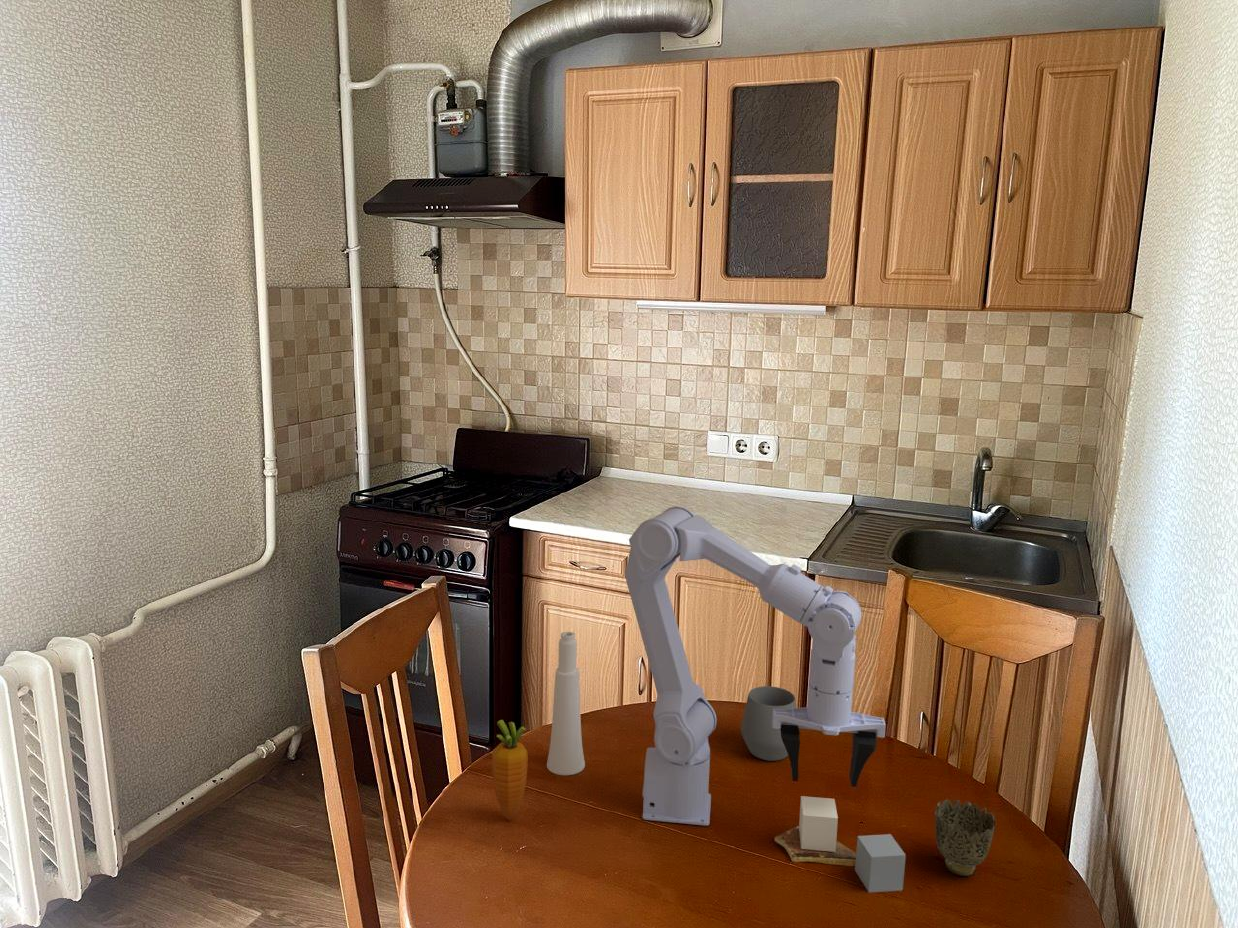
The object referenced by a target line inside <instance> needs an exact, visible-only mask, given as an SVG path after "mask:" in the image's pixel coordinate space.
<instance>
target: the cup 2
mask: <svg viewBox="0 0 1238 928" xmlns="http://www.w3.org/2000/svg"><path fill="white" fill-rule="evenodd" d="M936 807H937V808H936V810H935V809H934V827H935V841H936V844H937V845H936V846H937V848H938V850H939V852H940V854H941V855H942V856H943V858H945V860H944V862H945V865H946V868H947V869H948V870H949V871H950V872H951V873H953V874H954V875H958V876H962V877H966V876H970V875H972V874H973V872H975V869H976V866H978V865H980V864H982V863H983V862H984V861H985V859H986V858H987V856H988V853H989V851H990V849H991V845H992V841H993V840H992V839H993V837H994V833H995V826H996V819H995V815H994V813H992V812H991V813H987V809H986V807H984V808H983V809H981V810H980V808H979V807H978V804H977V803H973V804H971V802H970V801H969V800H968V801H965V802H964V803H963V804H961V800H960V799H956V800H955V801H954V803H953V802H952V801H951V800H950V799H948V798H946V799H944V800H943V801H942V802H939V801H938V802H937V804H936Z"/></svg>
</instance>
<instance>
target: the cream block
mask: <svg viewBox="0 0 1238 928" xmlns="http://www.w3.org/2000/svg"><path fill="white" fill-rule="evenodd" d="M799 805H800V806H799V825H798V826H799V833H800V843H801V849H809V850H820V851H831V852H836V841H837V837H838V834H837V833H838V825H839V824H838V822H839V821H838V820H839V817H838V811H837V806H836V800H835V798H829V797H827V798H826V797H814V796H806V795H803V796H802V795H800V804H799Z"/></svg>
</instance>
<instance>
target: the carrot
mask: <svg viewBox="0 0 1238 928" xmlns="http://www.w3.org/2000/svg"><path fill="white" fill-rule="evenodd" d="M496 724H497V727H498V728H499V729H500V731H501V733H502V734H503V735H502V734H501V733H499V734H496V738H498V739H499V741H501V742H500V743H499V744H497V746H496V747H495V748H494V749H493V750H492V752H491V764H492V765H491V769H492V782H493V787H494V792H495V795H496V800H497V802H498V805H499V807H500V810H501V811H502V813H503V816H504V817H505V819H506V820H507V821H509V822H510V821H512V820H513V819H514V818H515V816H516V814H517V813H518V811H519V809H520V807H521V804H522V801H523V799H524V795H525V791H526V785H527V780H528V779H527V777H528V759H529V757H528V756H529V754H528V750H527V749H526V748H525V746H524V744H522V743H521V742H519V741H520V739H521V738H522V736H523V734H524V733H525V732H526V729H527V728H526V727H524V726H521V727H519V729H518V730H517V729H516V724H515V722H513V721H510V722H508V726H509V728H508V726H507V724H506V723H505V722H504V719H500V720H498V721H497V722H496ZM509 730H510V731H509Z"/></svg>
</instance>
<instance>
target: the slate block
mask: <svg viewBox="0 0 1238 928" xmlns="http://www.w3.org/2000/svg"><path fill="white" fill-rule="evenodd" d="M855 853H856V864H855V866H854V871H855V873H856V875H857V876H858V878H859V880H860V881H861V882H862V883H863V885H864V887H865V889H866V891H867V892H868V893H881V892H884V893H885V892H896V891H903V888H904V878H905V869H906V859H907V858H906V857H907V855H906V853H905V852H904V851H903V848H901V846H900V845H899V844H898V841H896V840H895V838H894V837H893V835H892V834H891V833H887V834H870V835H867V834H866V835H858V836H857V840H856V850H855Z"/></svg>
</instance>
